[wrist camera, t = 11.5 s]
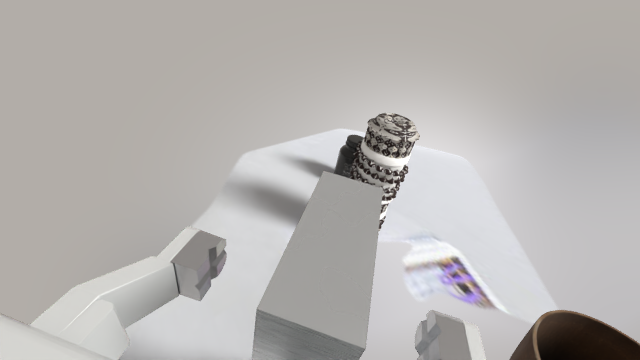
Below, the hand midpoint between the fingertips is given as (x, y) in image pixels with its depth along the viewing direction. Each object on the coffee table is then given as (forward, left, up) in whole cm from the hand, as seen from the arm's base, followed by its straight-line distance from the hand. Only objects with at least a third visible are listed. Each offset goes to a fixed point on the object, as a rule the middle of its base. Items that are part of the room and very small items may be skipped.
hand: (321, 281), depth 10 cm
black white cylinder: (+35, -4, -30) cm, 46 cm away
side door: (-2, 0, -17) cm, 17 cm away
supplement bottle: (+53, +1, -30) cm, 61 cm away
